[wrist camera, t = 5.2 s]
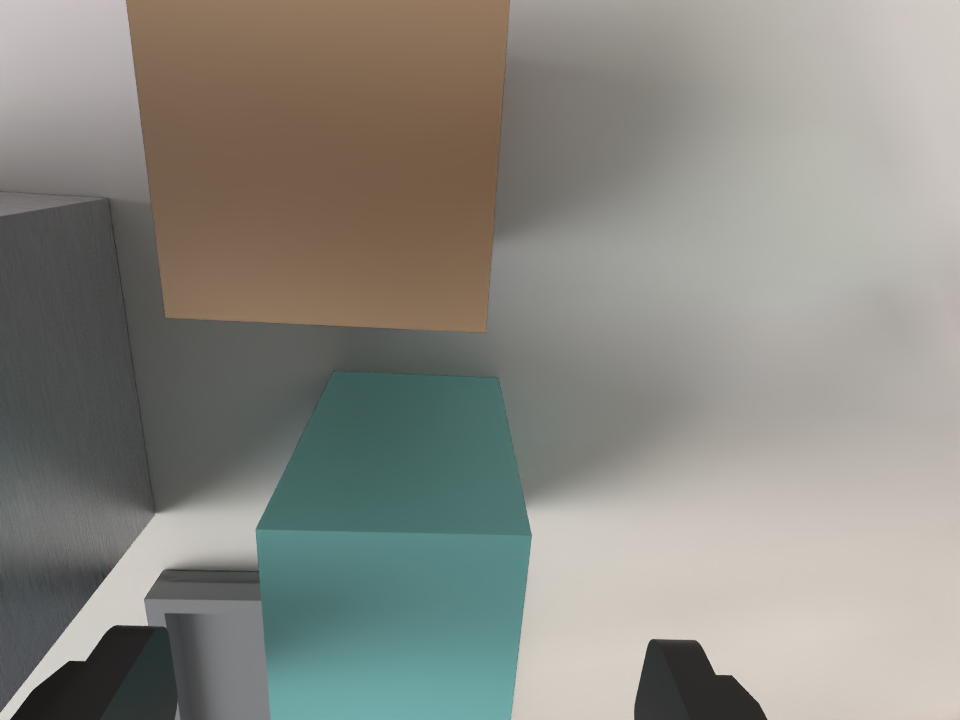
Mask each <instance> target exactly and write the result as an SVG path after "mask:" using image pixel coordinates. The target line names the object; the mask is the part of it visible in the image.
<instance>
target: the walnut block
mask: <svg viewBox="0 0 960 720" xmlns="http://www.w3.org/2000/svg"><path fill="white" fill-rule="evenodd" d="M126 4H127V12H128V20H129V28H130V36H131V44H132V52H133V60H134V69H135V77H136V85H137V93H138V101H139V109H140V117H141V125H142V133H143V141H144V149H145V158H146V166H147V174H148V182H149V190H150V198H151V206H152V214H153V222H154V230H155V238H156V247H157V255H158V263H159V271H160V279H161V287H162V295H163V303H164V311H165V318H179V319H200V320H222V321H243V322H265V323H286V324H307V325H329V326H350V327H371V328H393V329H414V330H435V331H457V332H478V333H486V326H487V312H488V298H489V284H490V270H491V256H492V242H493V228H494V214H495V200H496V187H497V173H498V159H499V145H500V131H501V117H502V103H503V89H504V75H505V61H506V48H507V34H508V20H509V6H510V0H126Z"/></svg>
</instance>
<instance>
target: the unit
mask: <svg viewBox="0 0 960 720" xmlns="http://www.w3.org/2000/svg"><path fill="white" fill-rule="evenodd" d="M154 515H155V513H154V506H153V499H152V492H151V486H150V479H149V472H148V465H147V459H146V452H145V445H144V438H143V431H142V425H141V418H140V411H139V404H138V398H137V391H136V384H135V377H134V370H133V364H132V357H131V350H130V343H129V337H128V330H127V323H126V316H125V310H124V303H123V296H122V289H121V282H120V276H119V269H118V262H117V255H116V249H115V242H114V235H113V228H112V221H111V215H110V208H109V201H108V198H99V197H83V196H66V195H50V194H33V193H16V192H0V712H1V711H2V710H3V709H4V707H5V706H6V705H7V703H8V702H9V701H10V700H11V698H12V697H13V696H14V694H15V693H16V692H17V691H18V689H19V688H20V687H21V686H22V684H23V683H24V682H25V680H26V679H27V678H28V677H29V675H30V674H31V673H32V671H33V670H34V669H35V668H36V666H37V665H38V664H39V662H40V661H41V660H42V659H43V657H44V656H45V655H46V654H47V652H48V651H49V650H50V648H51V647H52V646H53V645H54V643H55V642H56V641H57V639H58V638H59V637H60V636H61V634H62V633H63V632H64V631H65V629H66V628H67V627H68V625H69V624H70V623H71V622H72V620H73V619H74V618H75V616H76V615H77V614H78V613H79V611H80V610H81V609H82V607H83V606H84V605H85V604H86V602H87V601H88V600H89V599H90V597H91V596H92V595H93V593H94V592H95V591H96V590H97V588H98V587H99V586H100V584H101V583H102V582H103V581H104V579H105V578H106V577H107V575H108V574H109V573H110V572H111V570H112V569H113V568H114V567H115V565H116V564H117V563H118V561H119V560H120V559H121V558H122V556H123V555H124V554H125V552H126V551H127V550H128V549H129V547H130V546H131V545H132V543H133V542H134V541H135V540H136V538H137V537H138V536H139V535H140V533H141V532H142V531H143V529H144V528H145V527H146V526H147V524H148V523H149V522H150V520H151V519H152V518H153V517H154Z"/></svg>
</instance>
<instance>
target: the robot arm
mask: <svg viewBox="0 0 960 720" xmlns="http://www.w3.org/2000/svg"><path fill="white" fill-rule="evenodd" d="M177 701H178V694H177V686H176V679H175V673H174V666H173V659H172V652H171V645H170V639H169V633H168V631H167V629H166V628H165V627H164V626H123V625H116V626H113V627H112V628H110V629H109V630H108V631H107V632H106V633H105V634H104V636H103V637H102V639H101V640H100V641H99V643H98V644H97V646H96V647H95V649H94V650H93V651H92V653H91V654H90V656H89V657H88V658H87V660H86V661H69V662H67V663H66V664H65V665H64V666H62V667H61V668H60V669H59V670H57V671H56V672H55V673H54V674H52V675H51V676H50V677H49V678H47V679H46V680H45V681H44V682H42V683H41V684H40V685H39V686H37V687H36V688H35V689H34V690H33V691H32V692H31V693H30V694H29V696H28V697H27V698H26V700H25V701H24V702H23V704H22V705H21V706H20V708H19V709H18V710H17V712H16V713H15V714H14V715H13V717H12V718H11V719H10V720H175V715H176V710H177ZM634 720H767V718H766V716H765V714H764V712H763V710H762V708H761V707H760V705H759V703H758V702H757V701H756V700H755V699H754V698H753V697H752V696H751V695H750V694H749V693H748V692H747V691H746V690H745V689H744V688H743V687H742V686H741V685H740V684H739V682H738V681H737V680H736V679H735V678H734V677H733V676H732V675H715V672H714V670H713V668H712V666H711V664H710V662H709V660H708V658H707V656H706V654H705V652H704V650H703V648H702V646H701V645H700V644H699V643H698V642H697V641H695V640H665V639H652V640H650V642H649V644H648V647H647V651H646V655H645V660H644V664H643V669H642V673H641V678H640V682H639V687H638V691H637V696H636V701H635V708H634Z"/></svg>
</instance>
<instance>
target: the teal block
mask: <svg viewBox="0 0 960 720" xmlns="http://www.w3.org/2000/svg"><path fill="white" fill-rule="evenodd" d="M531 538H532V534H531V530H530V525H529V520H528V516H527V511H526V506H525V502H524V497H523V492H522V487H521V483H520V478H519V473H518V469H517V464H516V459H515V455H514V450H513V445H512V441H511V436H510V431H509V426H508V422H507V417H506V412H505V408H504V403H503V398H502V394H501V389H500V384H499V380H498V378H491V377H467V376H443V375H419V374H395V373H371V372H347V371H333V373H332V375H331V377H330V379H329V381H328V383H327V386H326V388H325V390H324V392H323V394H322V396H321V398H320V400H319V402H318V404H317V406H316V408H315V410H314V412H313V414H312V416H311V418H310V420H309V422H308V424H307V426H306V428H305V430H304V432H303V434H302V436H301V438H300V440H299V442H298V444H297V446H296V449H295V451H294V453H293V455H292V457H291V459H290V461H289V463H288V465H287V467H286V469H285V471H284V473H283V475H282V477H281V479H280V481H279V483H278V485H277V487H276V489H275V491H274V493H273V495H272V497H271V499H270V501H269V503H268V505H267V507H266V510H265V512H264V514H263V516H262V518H261V520H260V522H259V524H258V526H257V528H256V540H257V553H258V566H259V579H260V591H261V604H262V617H263V629H264V642H265V655H266V668H267V680H268V693H269V706H270V718H271V720H511V712H512V704H513V695H514V686H515V678H516V669H517V660H518V652H519V643H520V634H521V625H522V617H523V608H524V599H525V591H526V582H527V573H528V564H529V556H530V547H531Z"/></svg>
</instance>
